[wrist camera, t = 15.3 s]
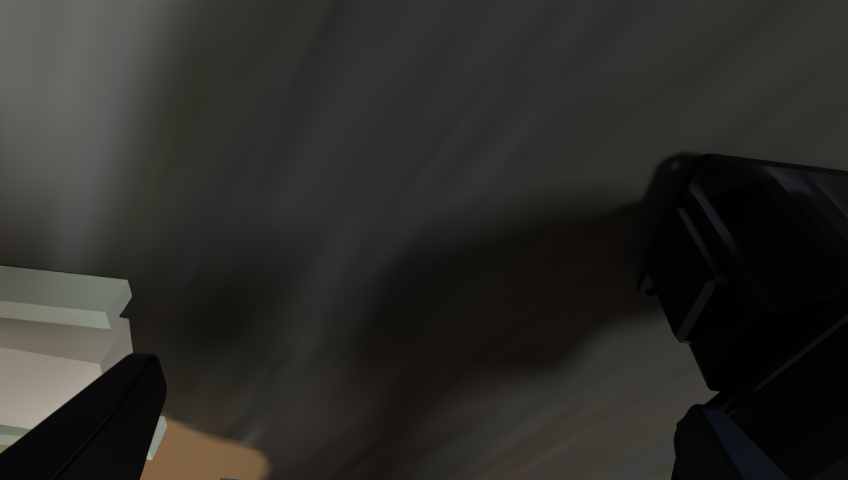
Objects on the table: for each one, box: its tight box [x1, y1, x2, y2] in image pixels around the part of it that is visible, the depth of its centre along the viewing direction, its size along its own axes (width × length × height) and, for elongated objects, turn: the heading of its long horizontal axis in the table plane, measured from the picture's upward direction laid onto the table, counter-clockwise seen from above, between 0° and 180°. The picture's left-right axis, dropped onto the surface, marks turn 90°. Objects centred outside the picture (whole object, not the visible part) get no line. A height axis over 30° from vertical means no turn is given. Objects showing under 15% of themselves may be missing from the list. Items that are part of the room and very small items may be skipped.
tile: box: [0, 317, 133, 429], centre depth 27 cm, size 6×6×3 cm
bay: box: [0, 265, 167, 460], centre depth 27 cm, size 9×11×2 cm
